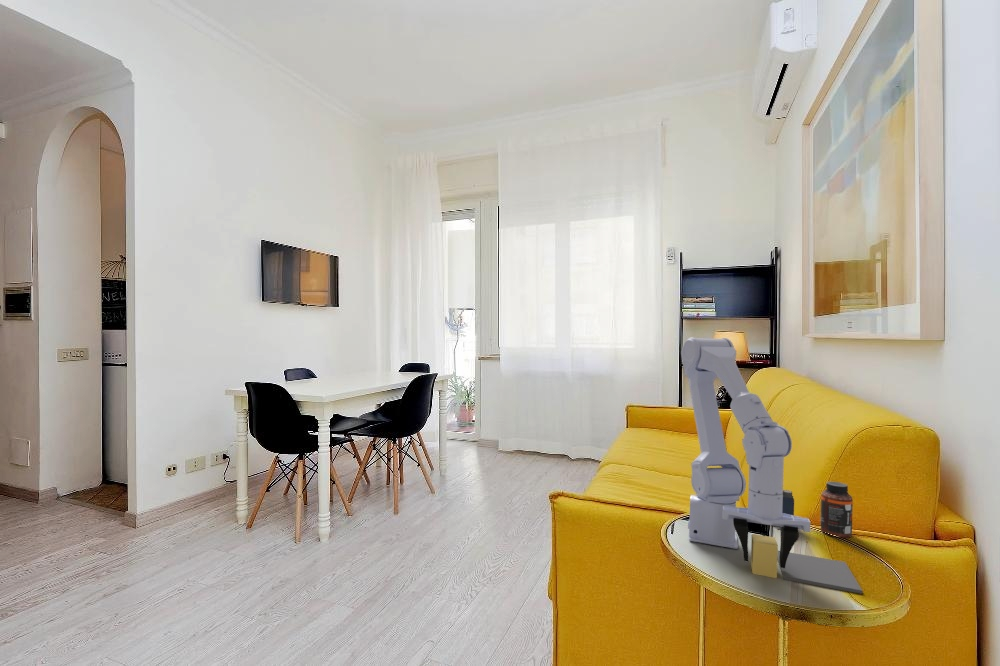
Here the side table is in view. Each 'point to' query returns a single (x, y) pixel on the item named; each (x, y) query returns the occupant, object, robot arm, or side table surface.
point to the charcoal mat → (819, 572)
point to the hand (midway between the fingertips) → (763, 562)
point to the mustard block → (764, 555)
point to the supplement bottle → (836, 510)
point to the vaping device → (788, 502)
